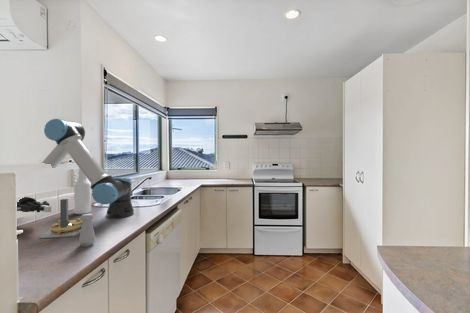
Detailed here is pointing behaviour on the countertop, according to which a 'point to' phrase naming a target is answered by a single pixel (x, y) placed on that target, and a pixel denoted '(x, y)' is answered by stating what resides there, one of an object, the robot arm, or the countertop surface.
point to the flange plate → (60, 234)
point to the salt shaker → (86, 231)
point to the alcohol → (82, 195)
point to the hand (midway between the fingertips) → (49, 209)
